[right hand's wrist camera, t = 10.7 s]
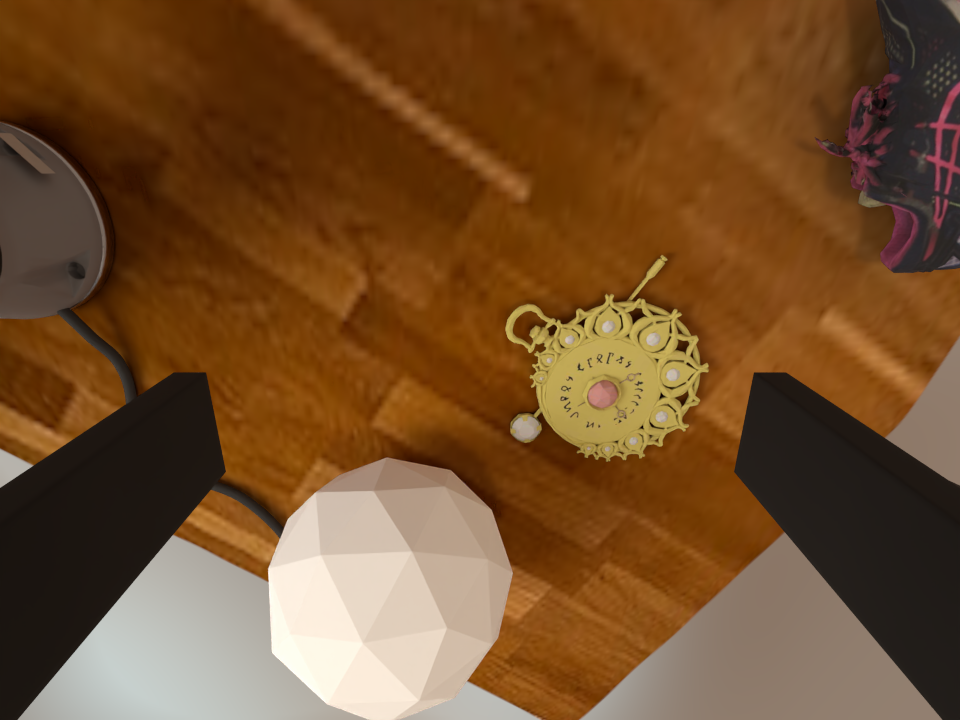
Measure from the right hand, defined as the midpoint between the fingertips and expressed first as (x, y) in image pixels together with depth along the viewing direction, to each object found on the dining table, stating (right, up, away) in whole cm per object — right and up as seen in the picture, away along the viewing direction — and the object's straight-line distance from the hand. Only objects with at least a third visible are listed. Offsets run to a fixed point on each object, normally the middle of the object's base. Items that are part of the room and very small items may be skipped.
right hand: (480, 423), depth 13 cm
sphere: (-7, -13, +39) cm, 42 cm away
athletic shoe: (+31, +18, +27) cm, 45 cm away
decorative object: (+11, +1, +34) cm, 36 cm away
